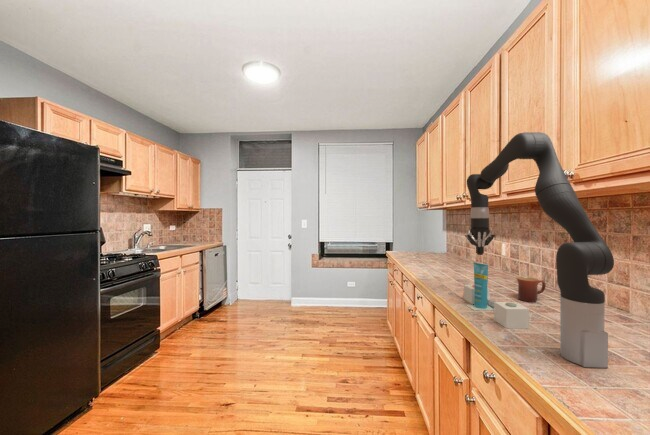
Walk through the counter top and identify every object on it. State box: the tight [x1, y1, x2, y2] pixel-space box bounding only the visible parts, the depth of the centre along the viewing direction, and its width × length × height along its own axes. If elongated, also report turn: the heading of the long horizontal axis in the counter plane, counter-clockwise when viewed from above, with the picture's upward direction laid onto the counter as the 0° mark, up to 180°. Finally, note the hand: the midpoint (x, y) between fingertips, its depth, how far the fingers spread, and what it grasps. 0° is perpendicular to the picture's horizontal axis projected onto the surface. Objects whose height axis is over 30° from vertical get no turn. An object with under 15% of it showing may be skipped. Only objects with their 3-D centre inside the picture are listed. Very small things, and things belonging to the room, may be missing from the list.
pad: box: [466, 304, 494, 311], centre depth 123 cm, size 6×9×1 cm, turn 87°
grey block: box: [463, 284, 491, 305], centre depth 131 cm, size 8×8×7 cm
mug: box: [516, 276, 546, 303], centre depth 132 cm, size 12×9×10 cm
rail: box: [487, 298, 497, 309], centre depth 118 cm, size 18×2×2 cm, turn 177°
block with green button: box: [493, 301, 530, 330], centre depth 104 cm, size 8×8×8 cm
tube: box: [473, 262, 489, 309], centre depth 122 cm, size 7×5×19 cm, turn 24°
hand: (480, 254), depth 129 cm, fingers closed
